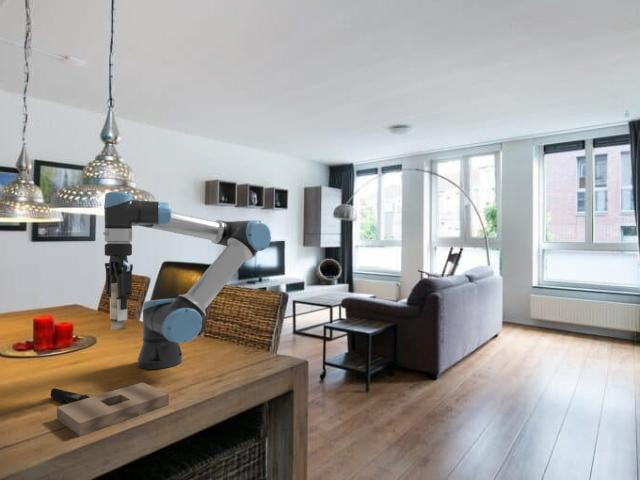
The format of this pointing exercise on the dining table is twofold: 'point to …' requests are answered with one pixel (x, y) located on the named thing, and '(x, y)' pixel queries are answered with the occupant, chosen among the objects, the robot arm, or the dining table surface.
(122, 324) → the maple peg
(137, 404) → the walnut board
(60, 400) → the electric trimmer
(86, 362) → the dining table surface
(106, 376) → the dining table surface
